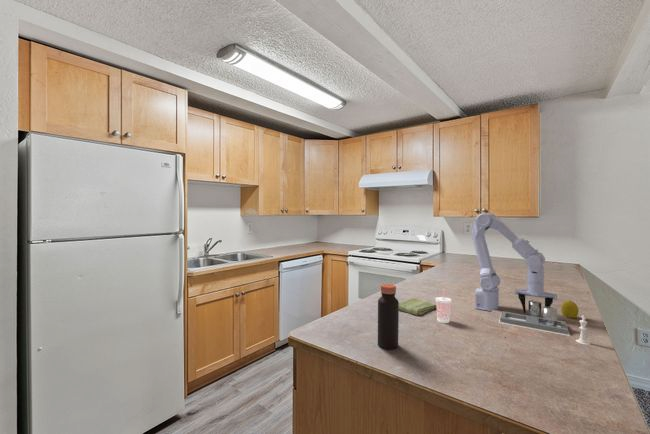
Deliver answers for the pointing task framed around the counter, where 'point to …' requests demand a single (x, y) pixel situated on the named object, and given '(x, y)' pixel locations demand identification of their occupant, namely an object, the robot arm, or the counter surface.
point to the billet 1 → (534, 308)
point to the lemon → (569, 309)
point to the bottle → (388, 317)
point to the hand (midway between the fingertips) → (534, 313)
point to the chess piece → (583, 331)
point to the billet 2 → (550, 316)
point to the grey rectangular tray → (532, 323)
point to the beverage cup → (443, 308)
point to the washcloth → (416, 306)
